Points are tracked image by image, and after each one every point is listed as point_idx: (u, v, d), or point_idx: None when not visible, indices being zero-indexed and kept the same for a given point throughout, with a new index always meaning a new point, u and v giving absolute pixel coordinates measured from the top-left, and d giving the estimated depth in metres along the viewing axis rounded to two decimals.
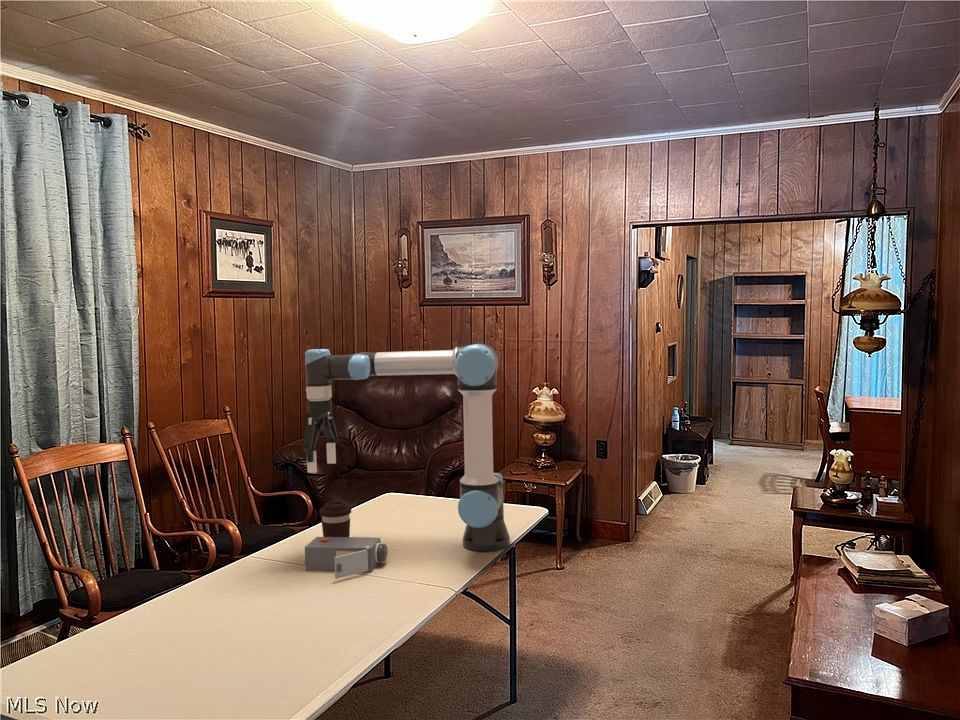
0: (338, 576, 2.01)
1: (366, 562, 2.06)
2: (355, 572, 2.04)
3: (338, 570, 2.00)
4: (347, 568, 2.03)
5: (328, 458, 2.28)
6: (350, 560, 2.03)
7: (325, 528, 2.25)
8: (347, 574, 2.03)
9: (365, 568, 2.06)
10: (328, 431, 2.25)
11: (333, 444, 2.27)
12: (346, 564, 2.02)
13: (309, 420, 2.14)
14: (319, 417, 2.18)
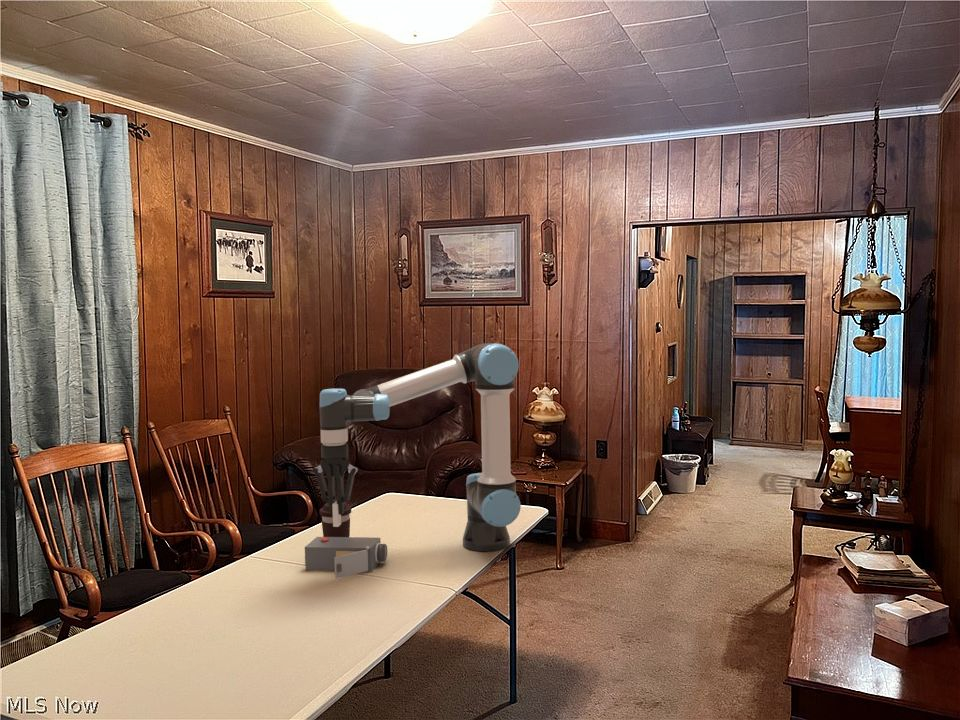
0: (338, 576, 2.01)
1: (366, 562, 2.06)
2: (355, 572, 2.04)
3: (338, 570, 2.00)
4: (347, 568, 2.03)
5: None
6: (350, 560, 2.03)
7: (325, 528, 2.25)
8: (347, 574, 2.03)
9: (365, 568, 2.06)
10: None
11: None
12: (346, 564, 2.02)
13: None
14: (323, 461, 2.03)
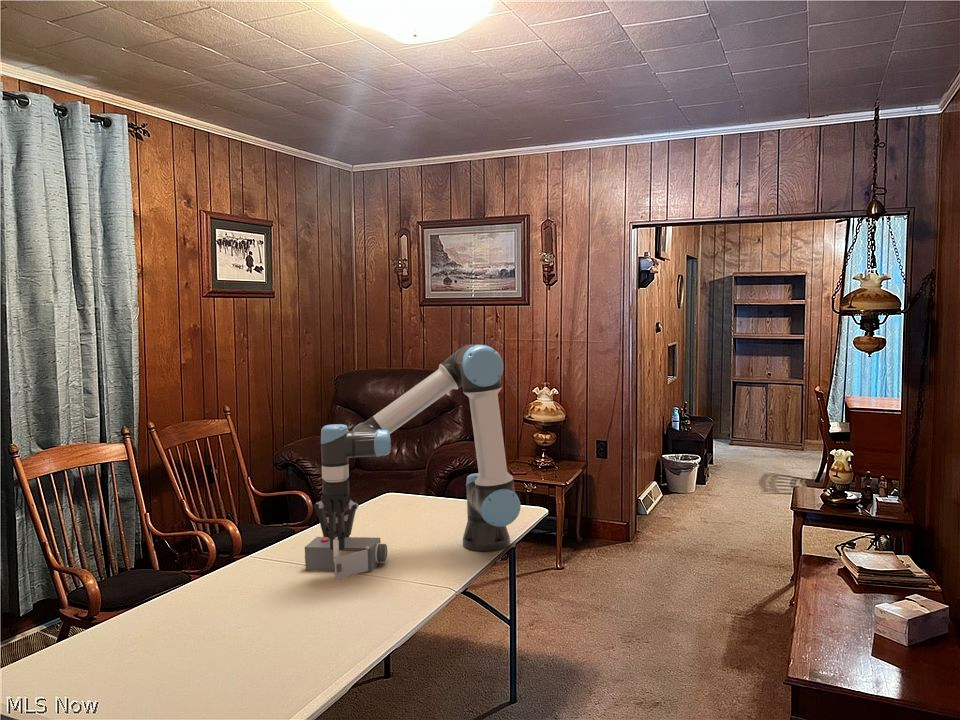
0: (338, 576, 2.01)
1: (366, 562, 2.06)
2: (355, 572, 2.04)
3: (338, 570, 2.00)
4: (347, 568, 2.03)
5: None
6: (350, 560, 2.03)
7: None
8: (347, 574, 2.03)
9: (365, 568, 2.06)
10: None
11: None
12: (346, 564, 2.02)
13: None
14: (324, 497, 2.04)
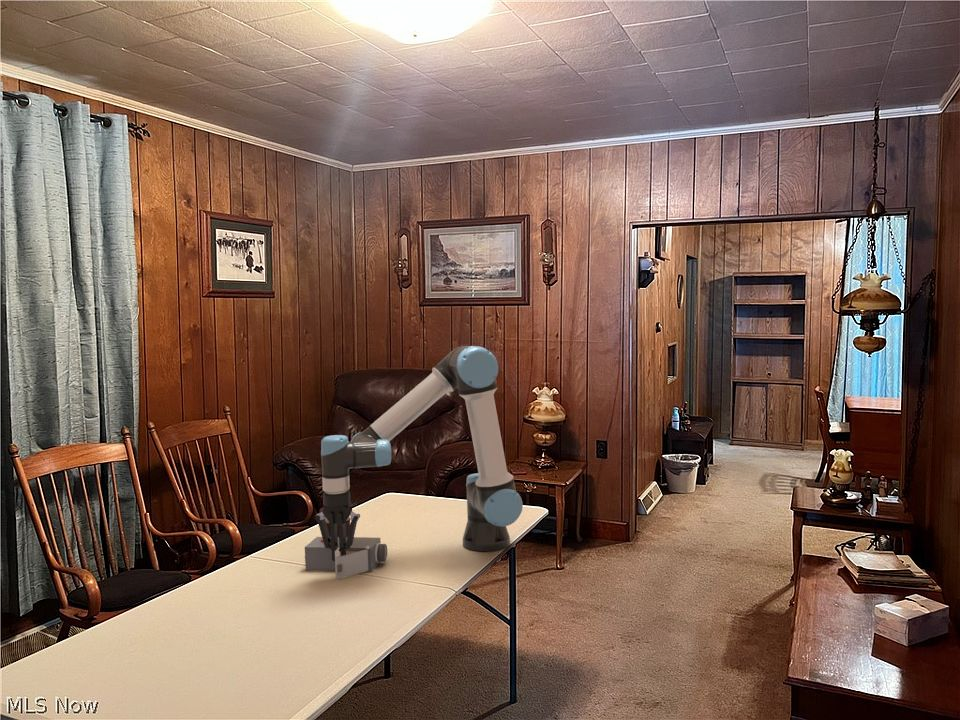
0: (339, 576, 2.01)
1: (366, 562, 2.06)
2: (355, 572, 2.04)
3: (339, 570, 2.00)
4: (348, 568, 2.03)
5: None
6: (350, 560, 2.03)
7: None
8: (347, 575, 2.03)
9: (365, 568, 2.06)
10: None
11: None
12: (346, 565, 2.02)
13: None
14: (325, 509, 2.02)
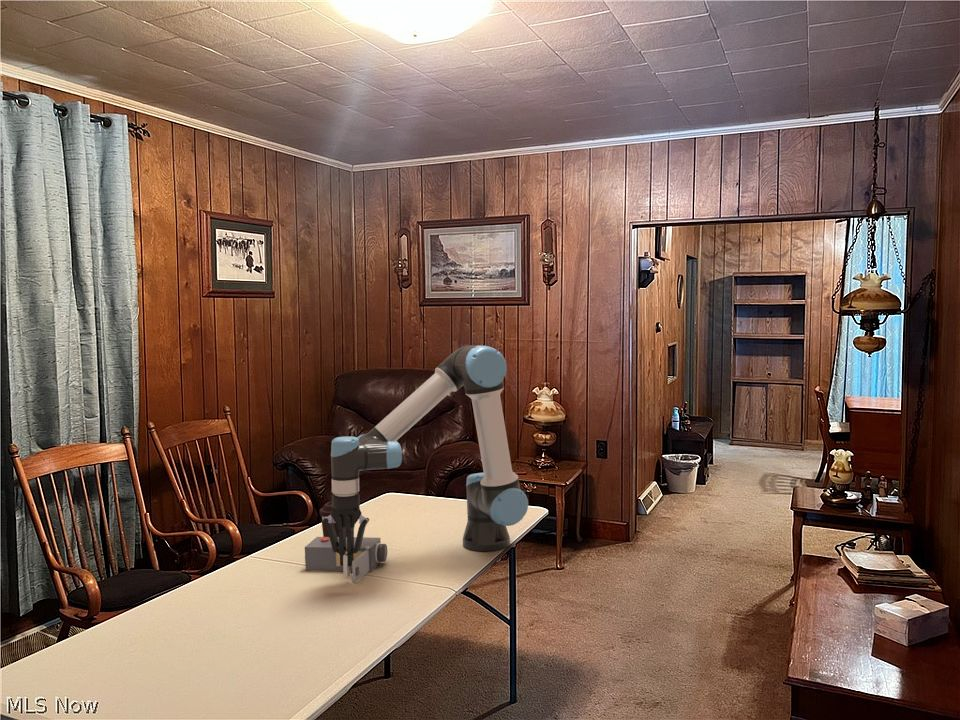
0: (356, 580, 1.98)
1: (368, 562, 2.06)
2: (363, 573, 2.03)
3: (357, 573, 1.97)
4: (360, 570, 2.01)
5: None
6: (361, 562, 2.01)
7: (325, 528, 2.25)
8: (360, 577, 2.00)
9: (368, 569, 2.06)
10: None
11: None
12: (359, 567, 2.00)
13: None
14: (333, 512, 1.98)
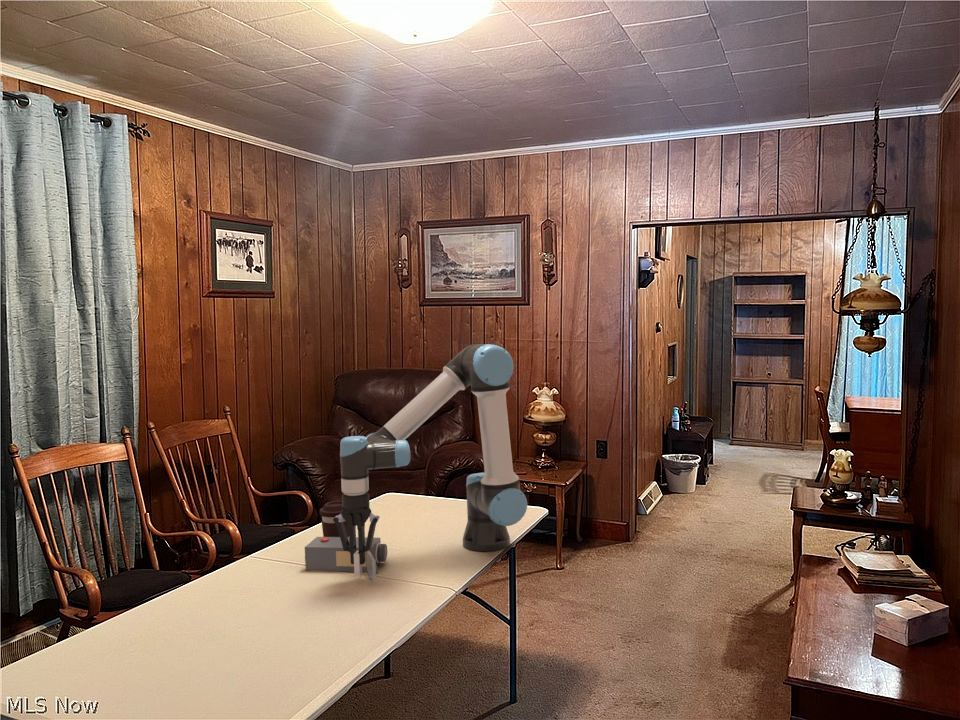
0: (375, 579, 1.98)
1: None
2: None
3: (377, 572, 1.98)
4: None
5: None
6: None
7: (325, 528, 2.25)
8: None
9: None
10: None
11: None
12: None
13: None
14: (343, 511, 2.00)
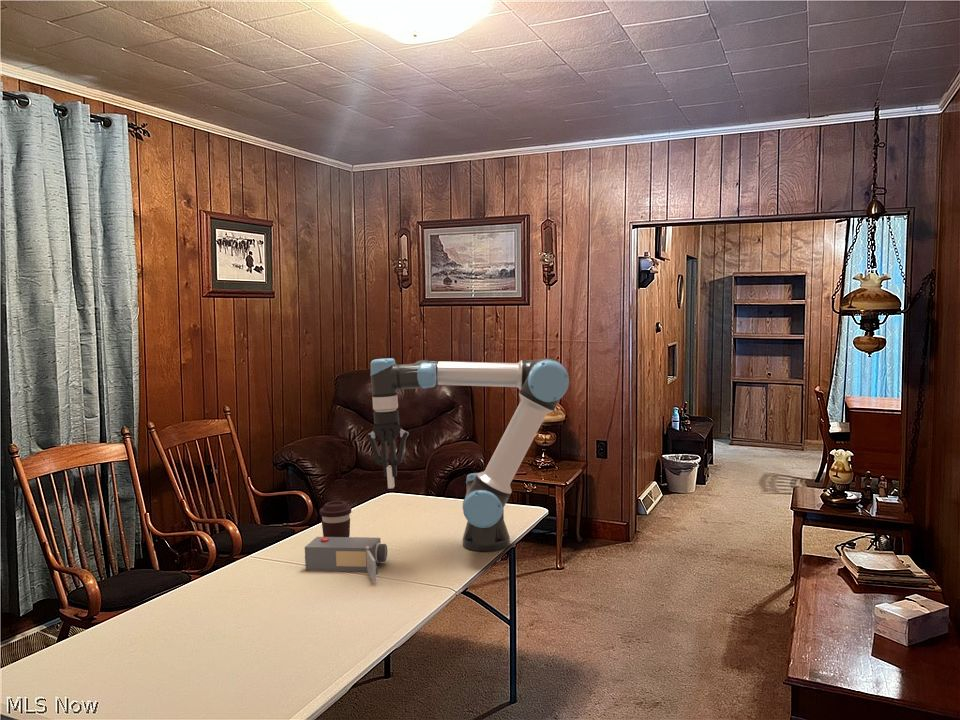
0: (375, 579, 1.98)
1: None
2: None
3: (377, 572, 1.98)
4: None
5: None
6: None
7: (325, 528, 2.25)
8: None
9: None
10: None
11: None
12: None
13: None
14: (376, 427, 2.15)
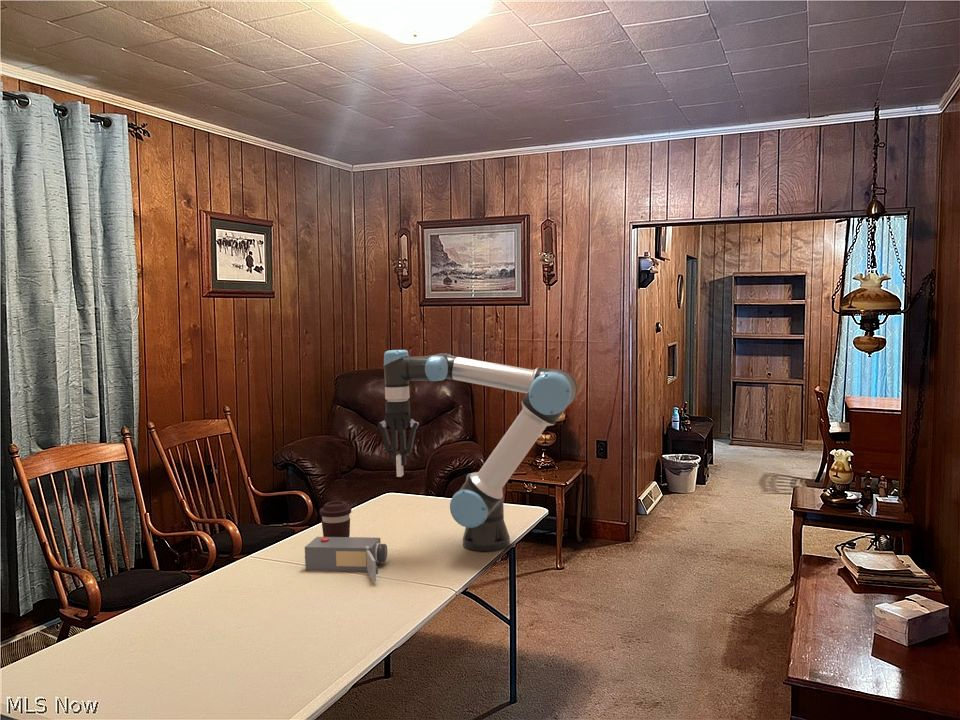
0: (375, 579, 1.98)
1: None
2: None
3: (377, 572, 1.98)
4: None
5: None
6: None
7: (325, 528, 2.25)
8: None
9: None
10: None
11: None
12: None
13: None
14: (387, 417, 2.21)
